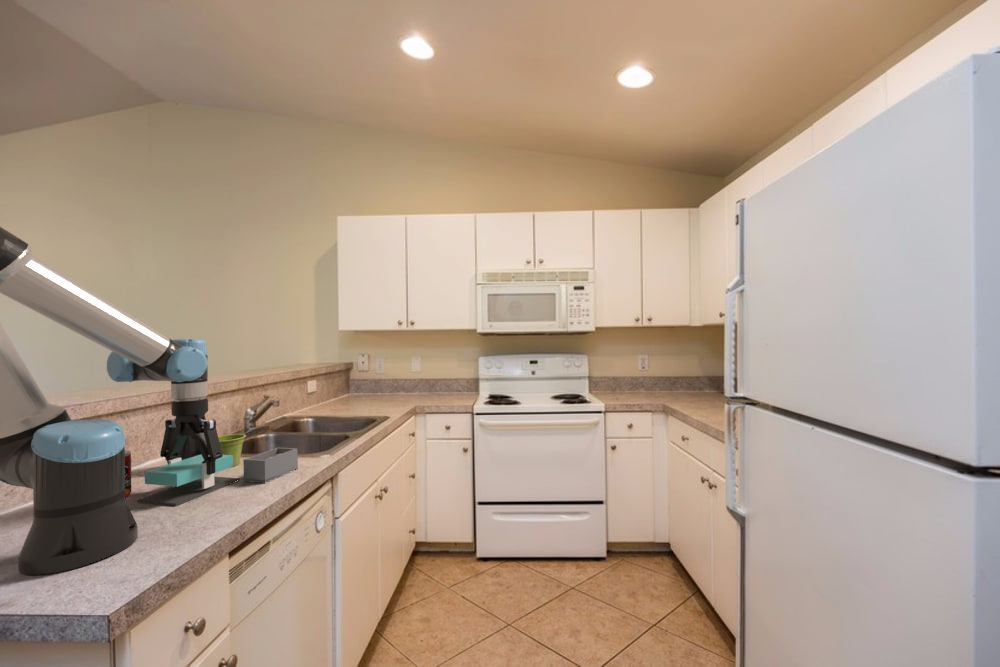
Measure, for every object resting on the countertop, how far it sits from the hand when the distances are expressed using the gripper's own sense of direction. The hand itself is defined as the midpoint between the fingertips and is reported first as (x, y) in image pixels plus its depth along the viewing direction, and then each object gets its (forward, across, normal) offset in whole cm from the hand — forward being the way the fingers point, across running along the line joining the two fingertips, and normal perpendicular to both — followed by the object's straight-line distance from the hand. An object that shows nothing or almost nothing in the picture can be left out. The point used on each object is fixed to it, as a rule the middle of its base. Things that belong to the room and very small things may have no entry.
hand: (191, 485), depth 104 cm
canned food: (+2, +16, +8) cm, 18 cm away
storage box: (+1, -12, -14) cm, 18 cm away
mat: (+1, 0, 0) cm, 1 cm away
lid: (-3, 0, 0) cm, 3 cm away
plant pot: (+2, +10, -19) cm, 21 cm away
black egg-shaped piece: (+2, +20, -15) cm, 25 cm away
